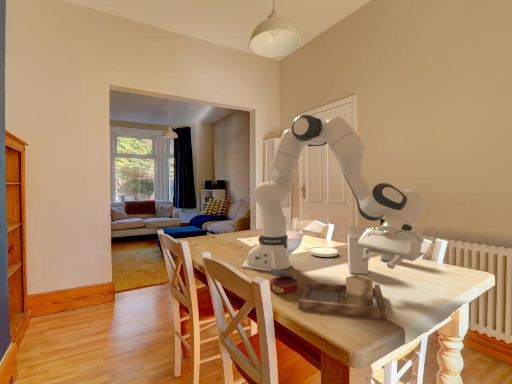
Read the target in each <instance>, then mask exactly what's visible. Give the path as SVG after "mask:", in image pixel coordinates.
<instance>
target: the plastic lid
mask: <svg viewBox="0 0 512 384" xmlns="http://www.w3.org/2000/svg"><path fill="white" fill-rule="evenodd" d="M338 254H339V251H338V249H336V248H332V247H314V248H311V249H310V255H312V256H316V257H322V258H323V257H325V258H329V257H330V258H331V257H336V256H338Z"/></svg>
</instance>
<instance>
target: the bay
mask: <svg viewBox="0 0 512 384" xmlns="http://www.w3.org/2000/svg"><path fill="white" fill-rule="evenodd" d="M339 294H344V295H346V284H339V283H338V284H337V283H329V282H327V283H326V282H319V281H318V282H317V281H315V282H314V281H306V282H305V288H304V290H303V293H302V295H301V298H299V300H298V310H306V311H314V312H321V313H323V312H324V313H330V314H339V315H347V316H348V315H349V316H357V317H363V318H374V319H382V320H386V319H387V305H386V302H385V300H384V295H383V293H382V289H381V286H380V284H374V283H373V297H374V298H375V303H376V305H377V306H373V305H371V306H363V305H354V304H348V303H342V302H339Z"/></svg>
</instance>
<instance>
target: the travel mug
mask: <svg viewBox="0 0 512 384" xmlns="http://www.w3.org/2000/svg"><path fill="white" fill-rule="evenodd" d="M385 219H386V218H381V219H379V222H380V223H379V225H380V227H381V226H382V224H383V222H384V220H385ZM380 227H379V228H380ZM394 258H396V257H392V256H388V255H384V254H380V261H382V262H384V263H388V261H392V260H393V259H394Z"/></svg>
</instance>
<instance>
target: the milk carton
mask: <svg viewBox="0 0 512 384" xmlns="http://www.w3.org/2000/svg"><path fill="white" fill-rule="evenodd" d="M365 231H367V227H366V226H347V239H346V241H347V269H348V271H349V274H356V275H363V274H364V275H368V274H369V261H368V262H366V261H363V260H362V257H363V255H364V251H363V250H362V249H361V248H360V246H359V245H358V240H359V239H360V238H361V236H362V235H363V234H364V233H365Z"/></svg>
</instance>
